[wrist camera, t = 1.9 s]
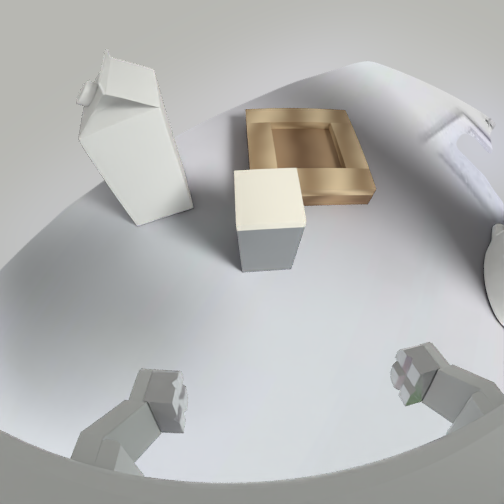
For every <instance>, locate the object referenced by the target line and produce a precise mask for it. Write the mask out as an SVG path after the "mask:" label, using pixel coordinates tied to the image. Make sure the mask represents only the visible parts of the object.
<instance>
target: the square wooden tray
mask: <svg viewBox="0 0 504 504" xmlns="http://www.w3.org/2000/svg"><path fill="white" fill-rule="evenodd" d="M246 130H247V143H248V156H249V169H250V170H254V169H276V168H297V173H298V178H299V183H300V188H301V194H302V199H303V205H304V206H313V205H350V204H368V203H369V201H370V199H371V198H372V196H373V194H374V192H375V191H376V187H375V184H374V181H373V178H372V175H371V172H370V170H369V167H368V164H367V161H366V159H365V156H364V154H363V151H362V148H361V146H360V143H359V141H358V138H357V136H356V134H355V131H354V129H353V126H352V124H351V122H350V120H349V117H348V115H347V113H346V111H345V110H334V109H310V108H267V109H246Z"/></svg>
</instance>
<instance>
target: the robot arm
mask: <svg viewBox="0 0 504 504" xmlns="http://www.w3.org/2000/svg"><path fill="white" fill-rule="evenodd" d="M484 278H485V286H486V291H487V295H488V298H489V301H490V304H491V307H492V309H493V311H494V313H495V315H496V317H497V319H498V320H499V322H500V323H501V324H502V325H503V326H504V225H502V224H496V225H494V226H493V228H492V240H491V243H490V245H489V247H488V249H487V251H486V255H485V260H484ZM395 358H396V360H397V361H396V362H395V363H394V365H393V366H392V369H391V381H392V384H393V386H394V387H395V388H397V389H398V390H400V391H399V397H400V398H401V400H402V402H403V404H404V406H408V405H412V404H415V403H418V402H422V403H424V404H425V405H427V406H428V407H429V408H431V409H432V410H434V411H435V412H437V413H438V414H440V415H441V416H443V417H444V418H445V419H447V420H448V421H450V422H451V423H453V424H452V425H451V427H450V428H449V429H448V431H447V433H446V434H447V435H445V436H443V437H441V438H439V439H436V440H434V441H432V442H429V443H427V444H424V445H422V446H419V447H417V448H414V449H412V450H409V451H406V452H403V453H401V454H398V455H395V456H392V457H389V458H386V459H382V460H379V461H376V462H372V463H369V464H365V465H361V466H357V467H353V468H349V469H345V470H340V471H336V472H331V473H326V474H320V475H315V476H308V477H302V478H294V479H286V480H277V481H265V482H247V483H205V482H187V481H176V480H166V479H158V478H151V477H144V475H143V473H142V472H141V471H140V470H139V468H138V467H137V466H136V465H135V463H134V462H135V461H136V460H137V459H138V458H139V457H140V456H141V455H142V454H143V453H144V452H145V451H146V450H147V449H148V447H149V446H150V445H151V444H152V443H153V442H154V441H155V440H156V439H157V438H158V436H159V435H160V434H161V432H165V433H184V428H185V421H186V419H185V416H184V412H185V411H186V410H187V406H188V394H187V389H186V386H185V385H183V379H184V378H183V375H182V372H181V371H172V370H156V369H154V370H152V369H141V370H140V371H139V372H138V375H137V378H136V380H135V383H134V386H133V389H132V391H131V394H130V397H129V400H124V401H123V402H121V403H120V404H119V405H117V406H116V407H115V408H113V409H112V410H111V411H109V412H108V413H107V414H105V415H104V416H103V417H101V418H100V419H98V420H97V421H96V422H94V423H93V424H92V425H90V426H89V427H87V428H86V429H85V430H83V431H82V432H81V433H80V435H79V438H78V440H77V443H76V446H75V448H74V451H73V453H72V456H71V459H69V458H66V457H63V456H60V455H57V454H54V453H52V452H49V451H46V450H44V449H41V448H39V447H36V446H34V445H31V444H29V443H27V442H25V441H22V440H20V439H18V438H16V437H14V436H12V435H10V434H8V433H6V432H4V431H2V430H0V504H504V394H503V393H502V392H501V391H500V389H499V388H498V387H497V386H496V384H495V383H494V382H492V381H489V380H487V379H485V378H482V377H480V376H478V375H476V374H473V373H471V372H469V371H466V370H464V369H462V368H460V367H457V366H455V365H450V364H449V363H448V362H447V361H446V359H445V358H444V357H443V356H442V355H441V353H440V352H439V351H438V350H437V348H436V347H435V346H434V345H433V344H432V343H430V342H428V343H424V344H420V345H416V346H412V347H408V348H404V349H400V350H399V351H398V352H397V354H396V357H395Z"/></svg>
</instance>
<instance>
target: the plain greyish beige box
mask: <svg viewBox="0 0 504 504" xmlns="http://www.w3.org/2000/svg"><path fill="white" fill-rule="evenodd" d="M234 185H235V211H236V229H237V236H238V244H239V251H240V258H241V266H242V272H256V271H271V270H286V269H291V268H292V265H293V262H294V259H295V256H296V253H297V250H298V247H299V243H300V240H301V237H302V234H303V231H304V228H305V225H306V216H305V211H304V205H303V199H302V194H301V188H300V183H299V178H298V173H297V168H276V169H254V170H237V171H234Z"/></svg>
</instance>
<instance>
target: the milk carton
mask: <svg viewBox="0 0 504 504" xmlns="http://www.w3.org/2000/svg"><path fill="white" fill-rule="evenodd" d="M76 103H77V104H79V105H83V106H84V109H83V114H82V120H81V125H80V132H79V141H80V143H81V145H82V147H83V148H84V150H85V151H86V153H87V155H88V156H89V158H90V159H91V161H92V162H93V164H94V165H95V167H96V168H97V170H98V171H99V173H100V174H101V176H102V177H103V179H104V180H105V182H106V183H107V185H108V186H109V187H110V189H111V190H112V192H113V193H114V195H115V196H116V197H117V199H118V200H119V202H120V203H121V205H122V206H123V207H124V209H125V210H126V211H127V213H128V214H129V216H130V217H131V218H132V220H133V221H134V222H135V224H136V225H137V226H140V225H143V224H146V223H149V222H152V221H155V220H158V219H161V218H164V217H167V216H170V215H173V214H176V213H179V212H182V211H185V210H188V209H191V208H193V207H194V206H193V202H192V198H191V194H190V191H189V187H188V183H187V179H186V175H185V171H184V167H183V164H182V161H181V158H180V155H179V152H178V148H177V145H176V142H175V139H174V136H173V132H172V129H171V126H170V123H169V119H168V116H167V113H166V109H165V106H164V102H163V100H162V96H161V92H160V89H159V85H158V82H157V78H156V75H155V71H154V69H151V68H148V67H144V66H141V65H138V64H134V63H131V62H127V61H123V60H119V59H115V58H111V56H110V54H109V51H108V49H105V53H104V58H103V62H102V67H101V70H100V73H99V74H98V76H97V78H96V79H95V81H94V82H92V81H89V80H87V81H86V82H85V83H84V85H83V87H82V88H81V90H80V93H79V95H78V97H77V101H76Z"/></svg>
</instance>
